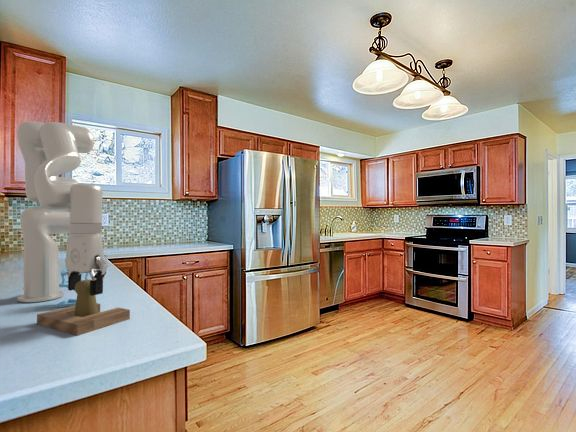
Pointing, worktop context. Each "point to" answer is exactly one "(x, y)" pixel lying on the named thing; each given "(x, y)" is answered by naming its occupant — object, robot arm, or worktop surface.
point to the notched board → (81, 319)
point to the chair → (65, 284)
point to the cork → (84, 300)
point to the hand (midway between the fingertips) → (85, 291)
